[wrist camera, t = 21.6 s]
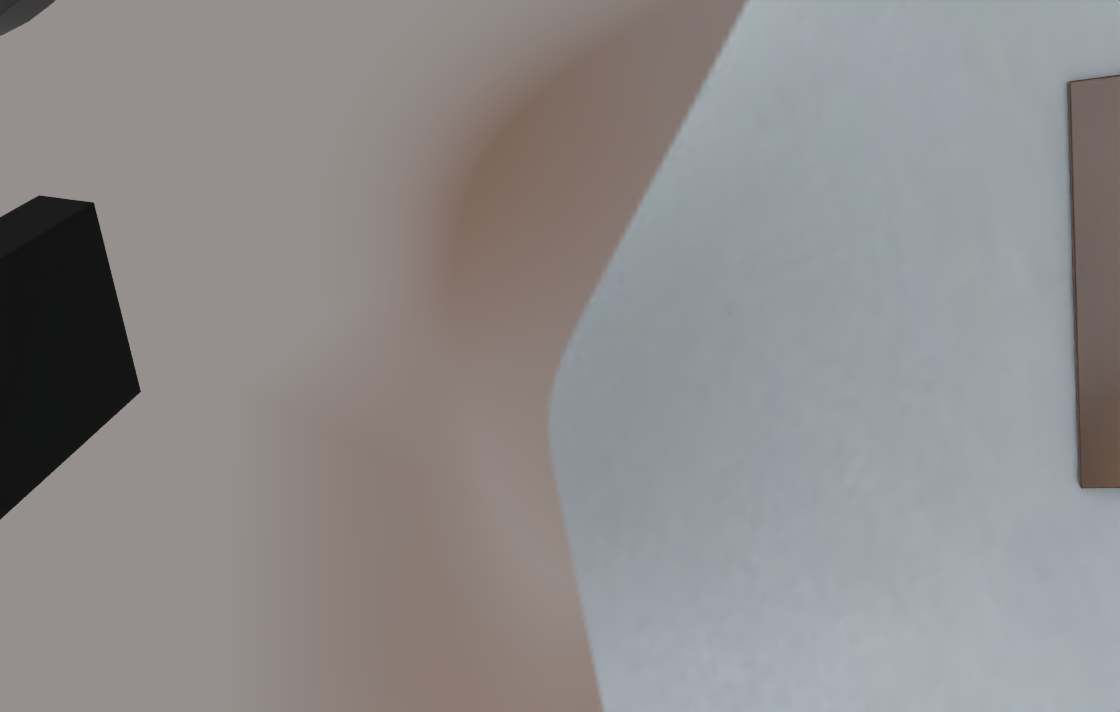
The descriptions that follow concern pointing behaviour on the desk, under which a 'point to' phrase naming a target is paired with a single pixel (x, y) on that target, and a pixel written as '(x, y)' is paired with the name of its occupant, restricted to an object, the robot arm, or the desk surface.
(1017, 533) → the desk surface
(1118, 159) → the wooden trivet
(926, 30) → the desk surface
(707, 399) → the desk surface
